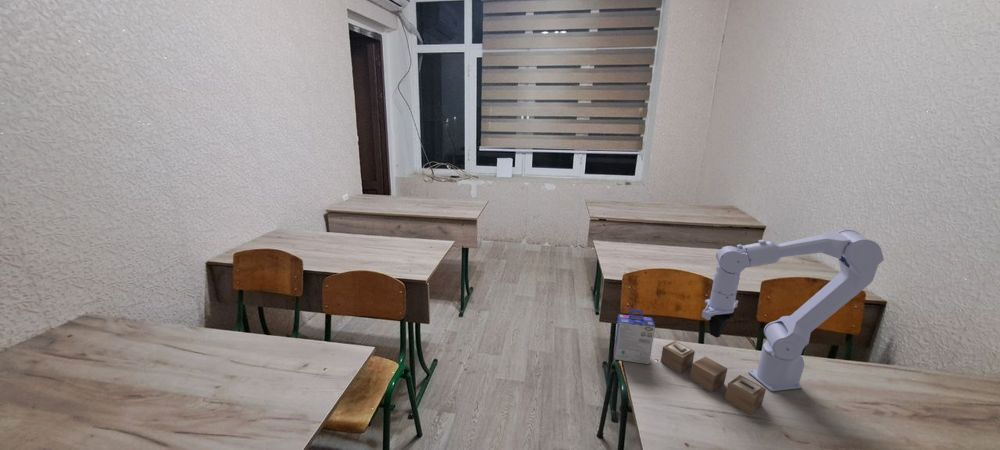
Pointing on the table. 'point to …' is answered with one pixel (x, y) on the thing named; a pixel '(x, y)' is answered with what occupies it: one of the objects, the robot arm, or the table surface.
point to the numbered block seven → (677, 356)
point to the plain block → (708, 373)
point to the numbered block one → (745, 394)
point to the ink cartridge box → (634, 338)
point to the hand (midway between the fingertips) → (714, 335)
